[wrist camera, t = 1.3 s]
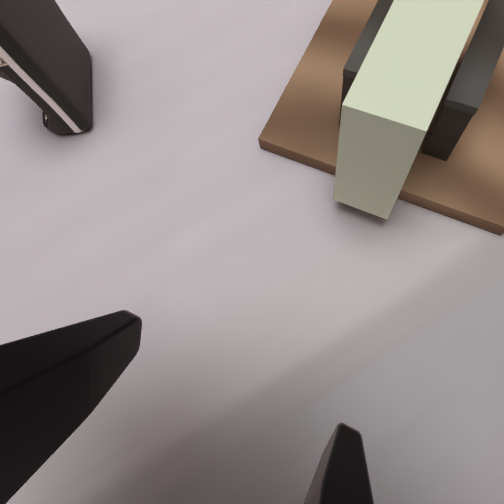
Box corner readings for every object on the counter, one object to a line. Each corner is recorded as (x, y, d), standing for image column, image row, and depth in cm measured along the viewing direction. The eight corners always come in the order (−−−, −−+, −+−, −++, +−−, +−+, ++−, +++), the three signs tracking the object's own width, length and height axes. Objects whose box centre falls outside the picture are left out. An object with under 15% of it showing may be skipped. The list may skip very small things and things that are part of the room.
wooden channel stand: (500, 235, 22) (558, 188, 17) (260, 147, 25) (246, 87, 20) (585, 4, 25) (656, -95, 20) (362, -45, 29) (373, -139, 23)
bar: (387, 220, 22) (426, 131, 14) (333, 199, 22) (341, 104, 15) (460, 54, 24) (527, -100, 16) (408, 40, 25) (449, -113, 17)
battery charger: (42, 62, 30) (-112, -118, 19) (92, 50, 30) (-36, -140, 19) (40, 146, 28) (-136, -5, 17) (94, 135, 27) (-50, -27, 17)
